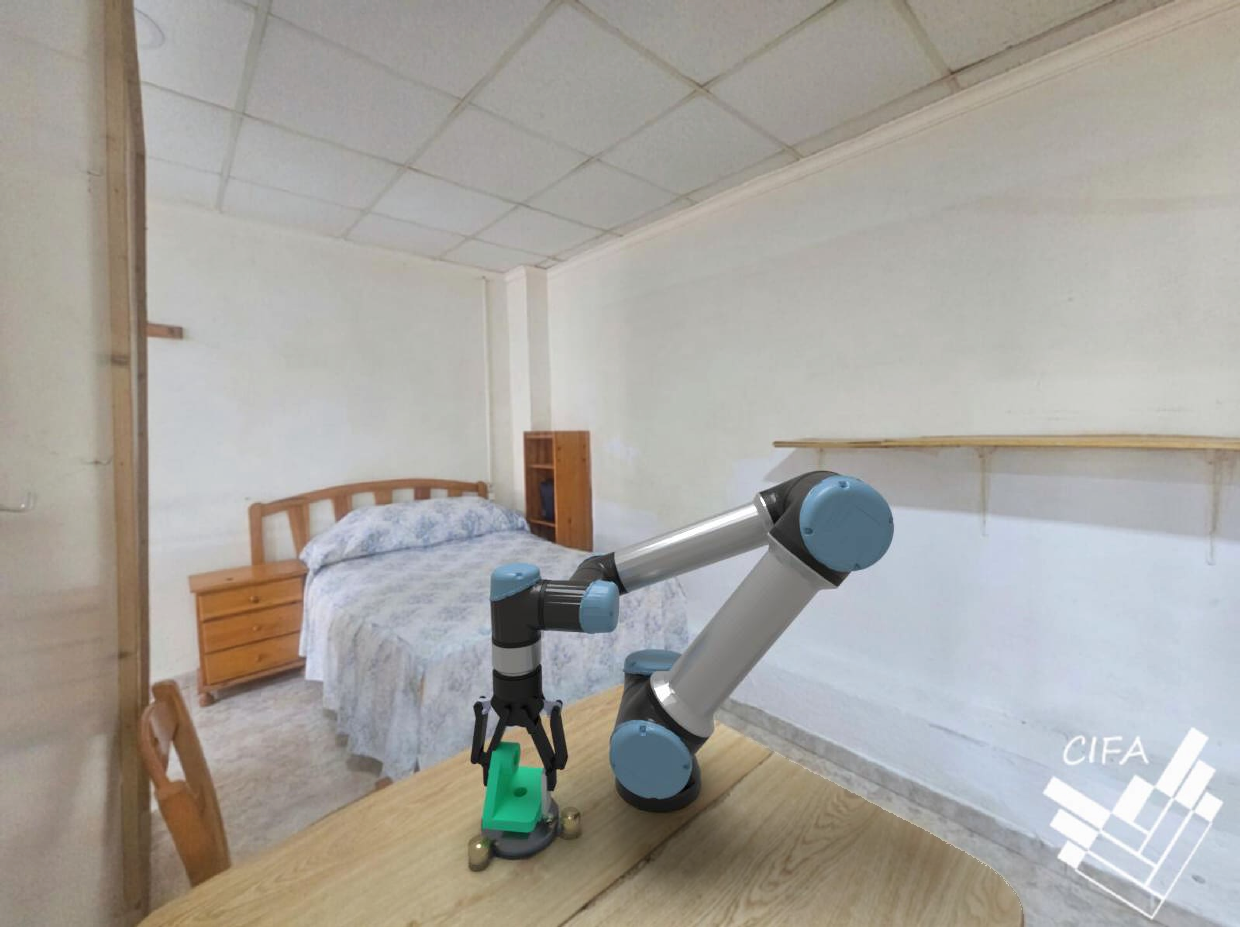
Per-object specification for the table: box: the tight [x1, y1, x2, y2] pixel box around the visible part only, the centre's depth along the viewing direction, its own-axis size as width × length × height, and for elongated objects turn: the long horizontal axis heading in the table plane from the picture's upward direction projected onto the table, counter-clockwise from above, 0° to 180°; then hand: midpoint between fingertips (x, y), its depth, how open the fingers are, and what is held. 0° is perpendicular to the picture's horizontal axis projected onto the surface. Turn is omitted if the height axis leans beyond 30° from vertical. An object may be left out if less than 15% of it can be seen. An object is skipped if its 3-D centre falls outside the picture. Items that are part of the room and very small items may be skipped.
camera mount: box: [481, 740, 544, 832], centre depth 81 cm, size 12×8×10 cm, turn 173°
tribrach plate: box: [467, 796, 581, 872], centre depth 81 cm, size 16×17×3 cm
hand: (520, 806), depth 81 cm, fingers closed on camera mount, 8 cm apart
